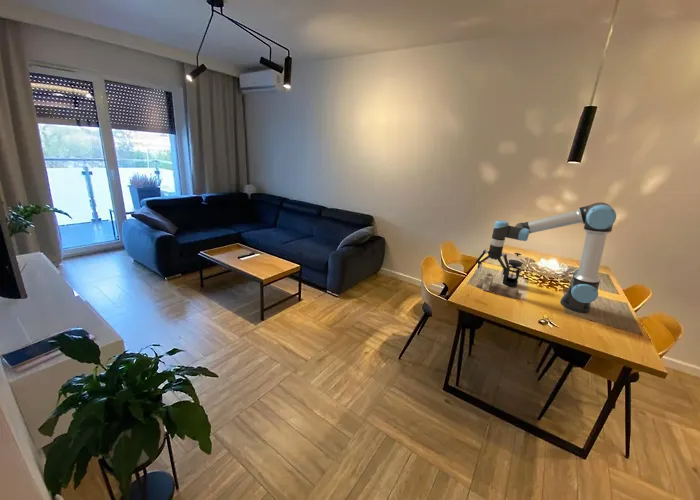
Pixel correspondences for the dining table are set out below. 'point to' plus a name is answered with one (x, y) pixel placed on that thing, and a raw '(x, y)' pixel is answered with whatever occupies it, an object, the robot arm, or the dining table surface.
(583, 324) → the dining table surface
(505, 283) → the french press
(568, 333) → the dining table surface
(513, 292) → the board
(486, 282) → the block
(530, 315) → the dining table surface
